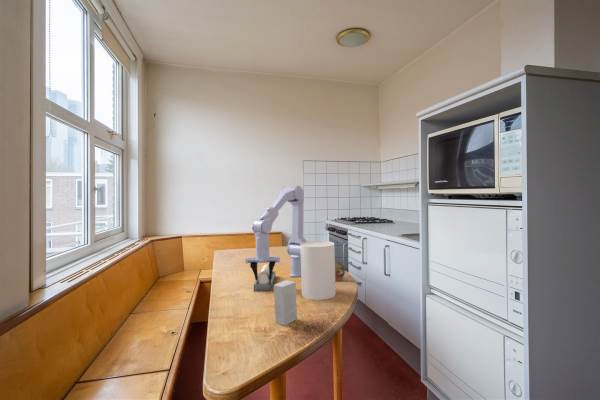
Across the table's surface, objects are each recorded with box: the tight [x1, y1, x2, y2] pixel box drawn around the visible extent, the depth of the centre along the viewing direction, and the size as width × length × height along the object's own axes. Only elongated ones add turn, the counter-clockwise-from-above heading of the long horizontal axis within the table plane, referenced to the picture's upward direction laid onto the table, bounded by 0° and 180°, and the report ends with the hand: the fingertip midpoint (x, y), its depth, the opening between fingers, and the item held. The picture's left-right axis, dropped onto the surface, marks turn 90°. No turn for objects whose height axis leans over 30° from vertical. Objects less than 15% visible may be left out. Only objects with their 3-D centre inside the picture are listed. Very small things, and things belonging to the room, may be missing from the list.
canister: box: [300, 240, 337, 301], centre depth 114 cm, size 14×14×20 cm
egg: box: [258, 272, 269, 284], centre depth 123 cm, size 4×4×6 cm
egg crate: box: [253, 263, 276, 292], centre depth 130 cm, size 7×21×7 cm, turn 0°
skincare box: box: [273, 279, 298, 326], centre depth 90 cm, size 6×4×12 cm
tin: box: [335, 261, 346, 282], centre depth 132 cm, size 15×3×8 cm, turn 73°
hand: (263, 279), depth 123 cm, fingers open, 5 cm apart
